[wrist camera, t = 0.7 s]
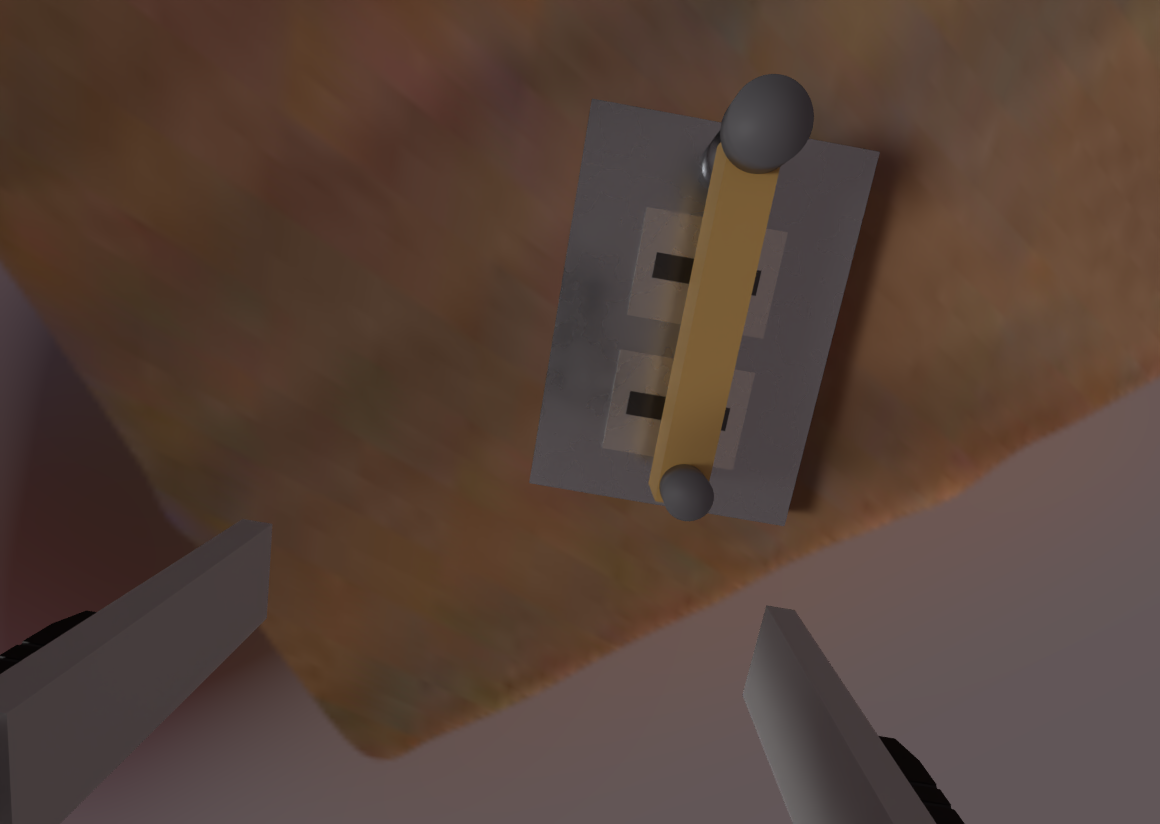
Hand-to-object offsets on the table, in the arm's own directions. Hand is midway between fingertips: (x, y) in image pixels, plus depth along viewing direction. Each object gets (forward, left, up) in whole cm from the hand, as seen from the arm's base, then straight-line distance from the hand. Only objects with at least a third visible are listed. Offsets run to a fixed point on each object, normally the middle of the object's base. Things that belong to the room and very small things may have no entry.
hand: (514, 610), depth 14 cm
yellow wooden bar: (-9, +7, -16) cm, 20 cm away
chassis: (-8, +7, -22) cm, 24 cm away
